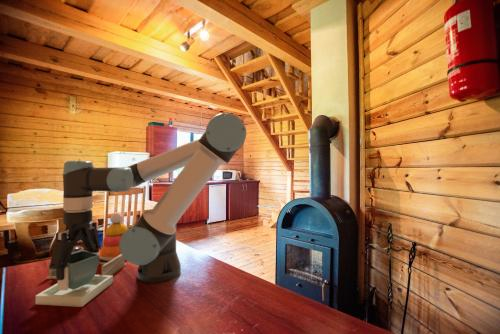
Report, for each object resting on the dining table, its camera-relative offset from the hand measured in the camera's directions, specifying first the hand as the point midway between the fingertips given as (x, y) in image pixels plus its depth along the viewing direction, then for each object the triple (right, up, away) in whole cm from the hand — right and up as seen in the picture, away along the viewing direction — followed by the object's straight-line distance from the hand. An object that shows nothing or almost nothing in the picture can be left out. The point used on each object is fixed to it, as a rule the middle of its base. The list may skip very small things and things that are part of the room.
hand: (77, 280), depth 77 cm
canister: (-12, -3, +15) cm, 20 cm away
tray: (0, -4, 0) cm, 4 cm away
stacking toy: (-4, -4, +30) cm, 30 cm away
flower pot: (0, -2, 0) cm, 2 cm away
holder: (-7, -4, +15) cm, 17 cm away
